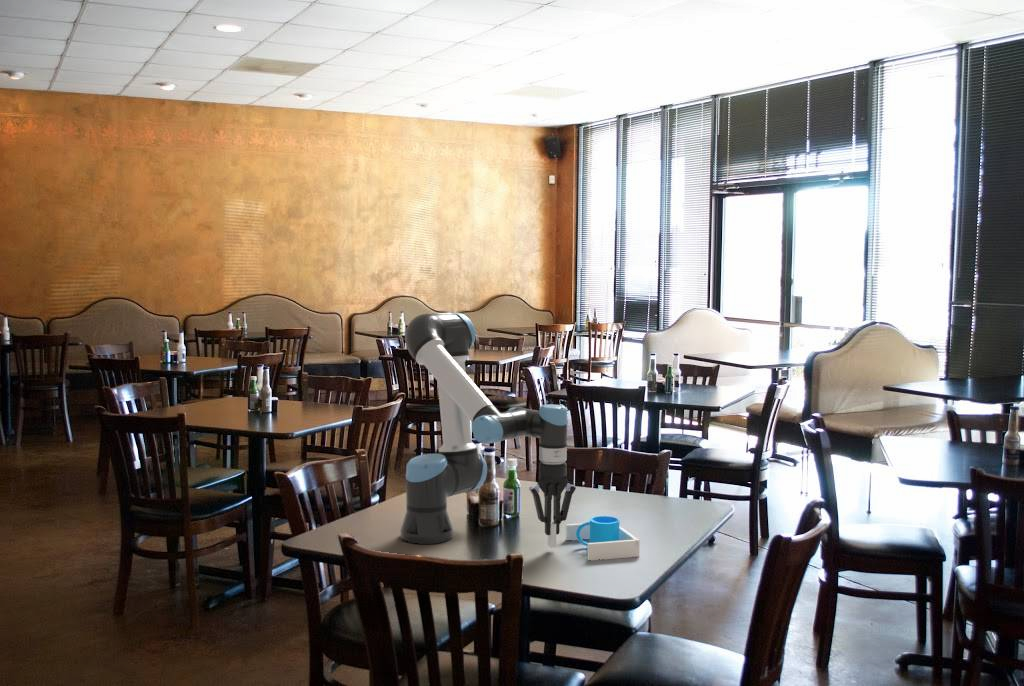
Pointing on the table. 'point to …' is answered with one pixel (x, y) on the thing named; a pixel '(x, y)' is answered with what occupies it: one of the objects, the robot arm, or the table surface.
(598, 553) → the box
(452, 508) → the table surface
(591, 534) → the mug
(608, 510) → the table surface
